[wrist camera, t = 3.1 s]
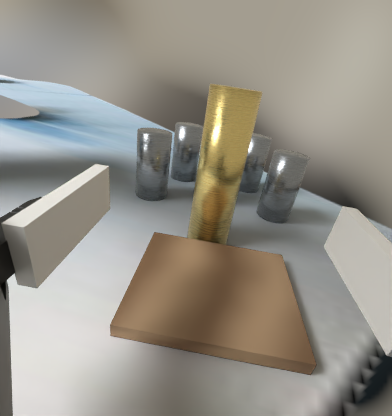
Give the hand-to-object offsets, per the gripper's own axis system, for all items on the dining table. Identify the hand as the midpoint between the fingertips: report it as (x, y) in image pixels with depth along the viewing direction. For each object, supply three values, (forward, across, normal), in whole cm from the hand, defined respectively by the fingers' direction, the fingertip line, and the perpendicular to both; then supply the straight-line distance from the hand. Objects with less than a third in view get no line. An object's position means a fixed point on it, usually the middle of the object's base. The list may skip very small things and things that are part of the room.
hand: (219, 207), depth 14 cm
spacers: (+20, 0, -8) cm, 22 cm away
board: (+2, +1, -8) cm, 8 cm away
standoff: (+8, 0, -8) cm, 12 cm away
